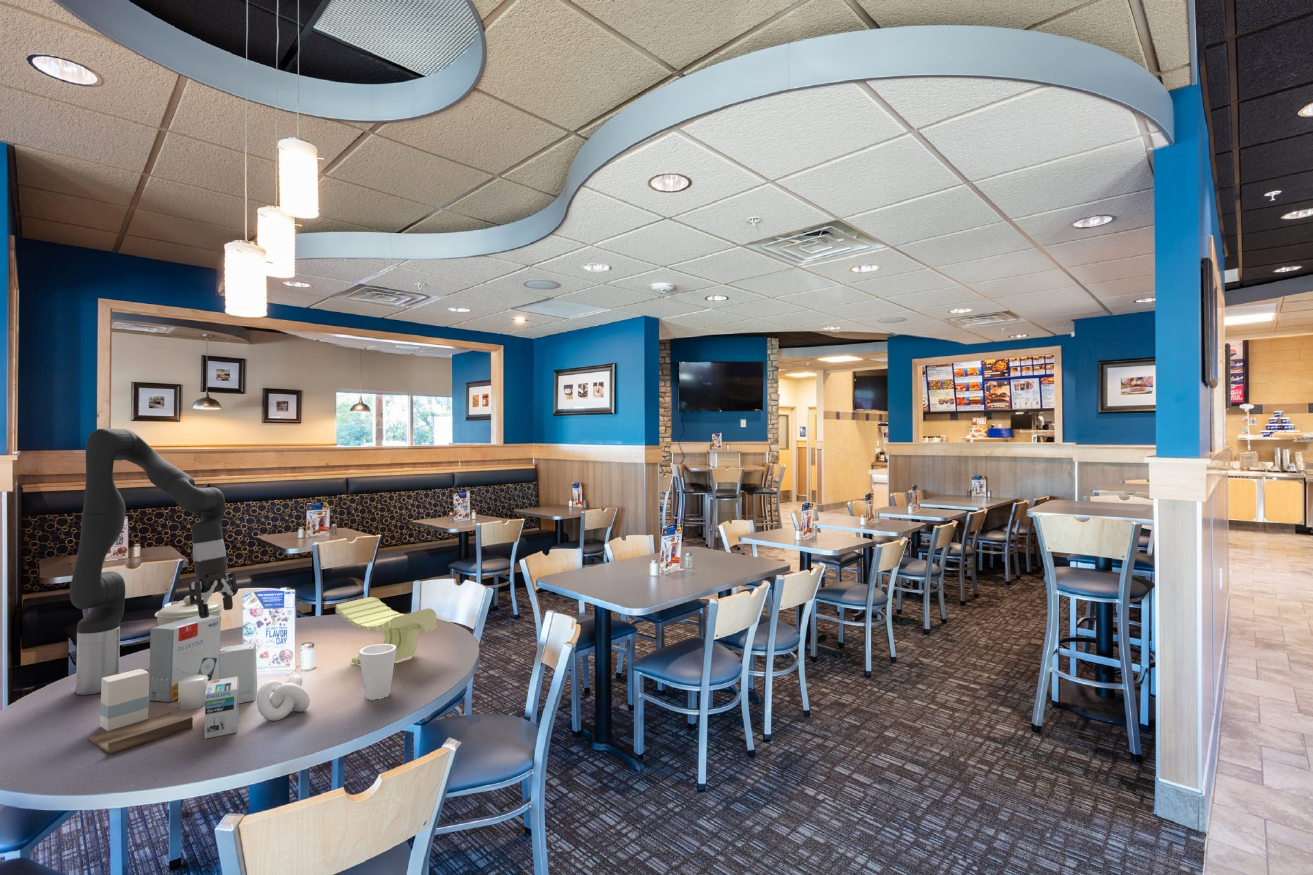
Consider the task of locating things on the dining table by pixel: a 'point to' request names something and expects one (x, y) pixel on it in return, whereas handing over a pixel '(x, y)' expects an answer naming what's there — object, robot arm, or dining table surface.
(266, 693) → the white knot sculpture
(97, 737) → the walnut display plinth
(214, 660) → the hard drive box
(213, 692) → the light bulb box
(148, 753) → the dining table surface
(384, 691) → the foam cup
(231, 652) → the skincare box
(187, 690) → the white cylinder
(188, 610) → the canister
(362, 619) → the slatted curved stool
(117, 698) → the cream carton
